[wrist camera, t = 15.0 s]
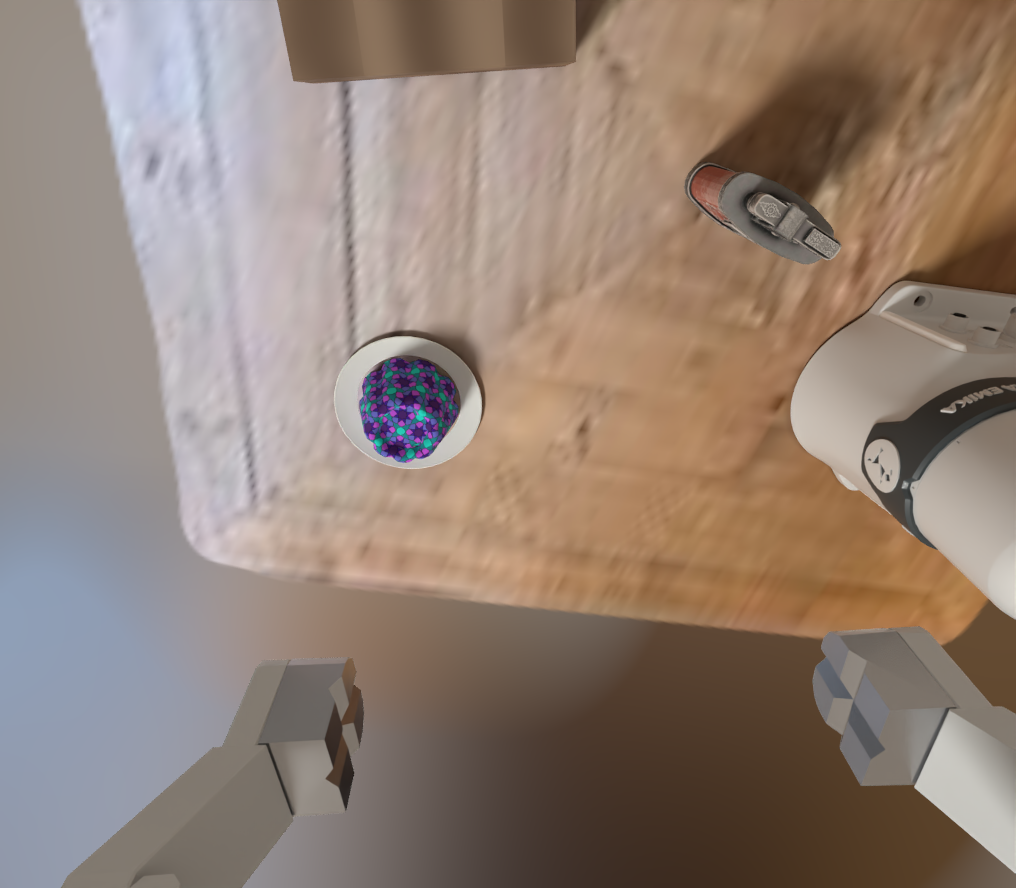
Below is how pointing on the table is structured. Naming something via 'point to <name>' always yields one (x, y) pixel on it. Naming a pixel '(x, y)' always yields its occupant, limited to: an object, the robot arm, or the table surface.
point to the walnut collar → (424, 37)
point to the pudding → (407, 403)
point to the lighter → (762, 212)
